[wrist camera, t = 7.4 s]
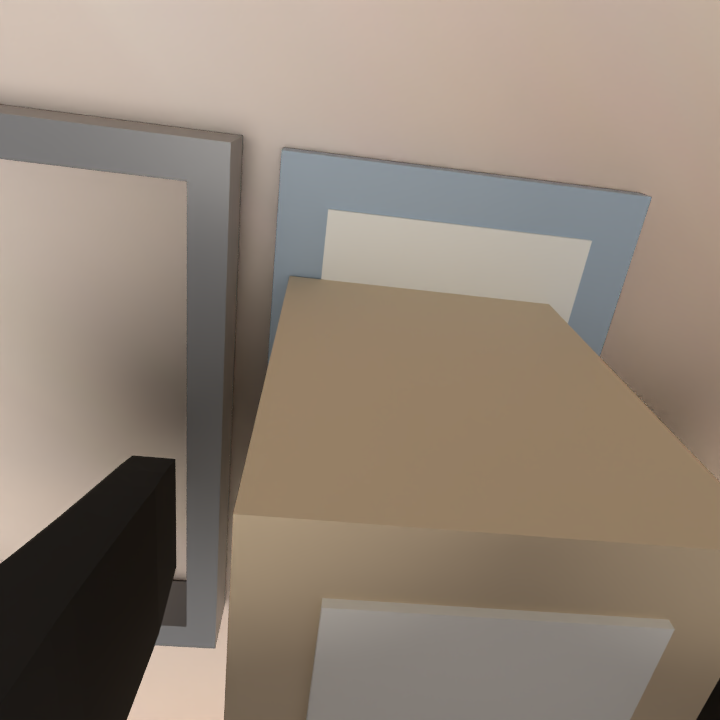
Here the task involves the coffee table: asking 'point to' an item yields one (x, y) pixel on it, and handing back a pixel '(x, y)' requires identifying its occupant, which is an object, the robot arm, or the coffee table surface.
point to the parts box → (463, 523)
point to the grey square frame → (204, 315)
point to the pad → (455, 235)
